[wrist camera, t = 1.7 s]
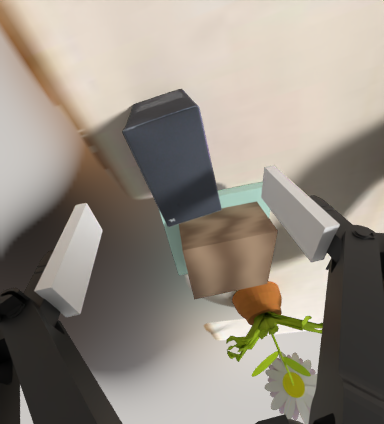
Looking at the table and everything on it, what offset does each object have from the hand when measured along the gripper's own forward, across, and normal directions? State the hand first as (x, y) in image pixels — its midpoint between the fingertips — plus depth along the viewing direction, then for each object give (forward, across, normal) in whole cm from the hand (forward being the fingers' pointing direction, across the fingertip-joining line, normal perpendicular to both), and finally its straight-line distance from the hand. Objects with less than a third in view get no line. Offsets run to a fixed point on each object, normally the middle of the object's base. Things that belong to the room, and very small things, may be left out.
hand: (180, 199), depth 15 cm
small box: (+14, -1, 0) cm, 14 cm away
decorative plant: (+13, -16, +44) cm, 49 cm away
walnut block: (+12, -6, +18) cm, 22 cm away
